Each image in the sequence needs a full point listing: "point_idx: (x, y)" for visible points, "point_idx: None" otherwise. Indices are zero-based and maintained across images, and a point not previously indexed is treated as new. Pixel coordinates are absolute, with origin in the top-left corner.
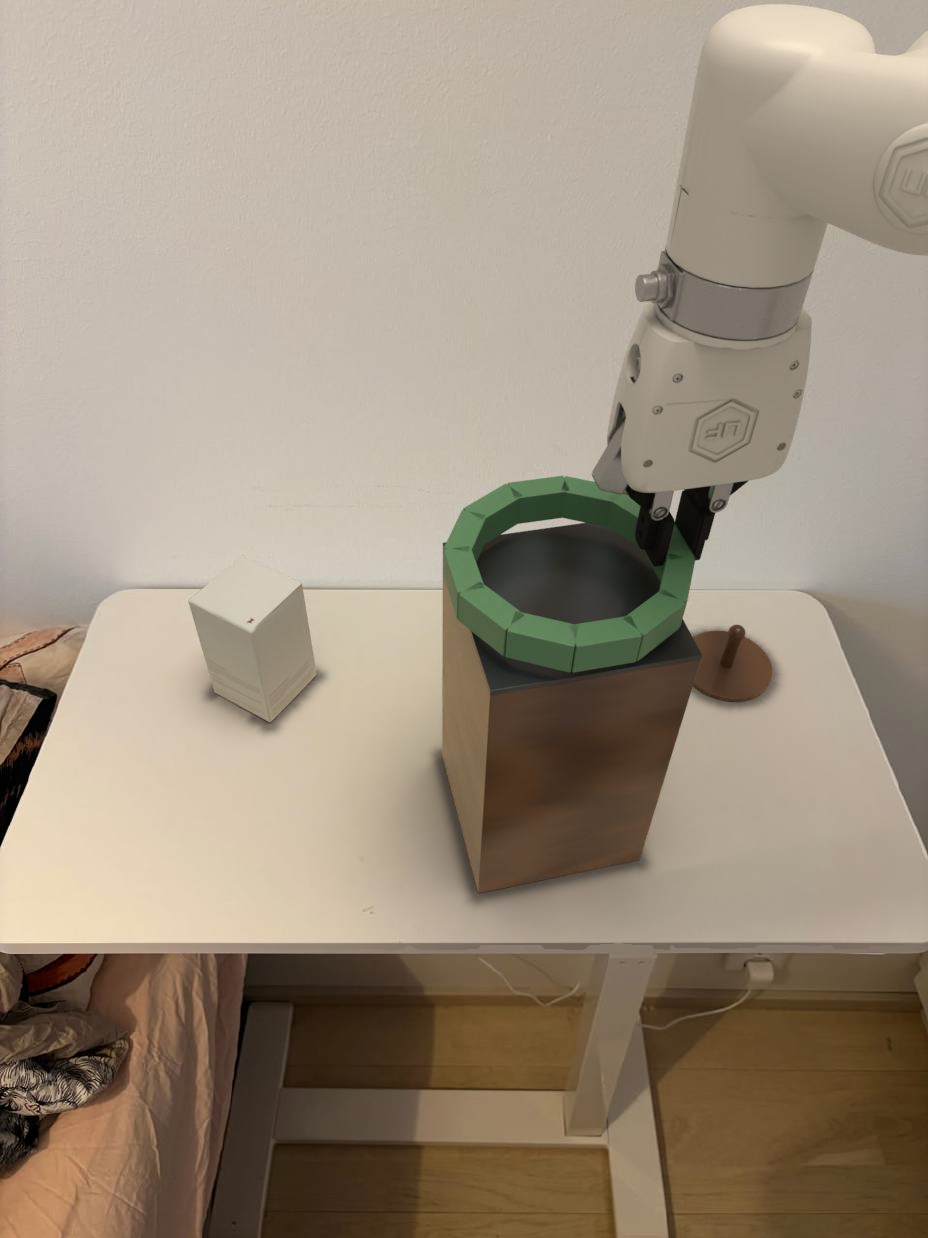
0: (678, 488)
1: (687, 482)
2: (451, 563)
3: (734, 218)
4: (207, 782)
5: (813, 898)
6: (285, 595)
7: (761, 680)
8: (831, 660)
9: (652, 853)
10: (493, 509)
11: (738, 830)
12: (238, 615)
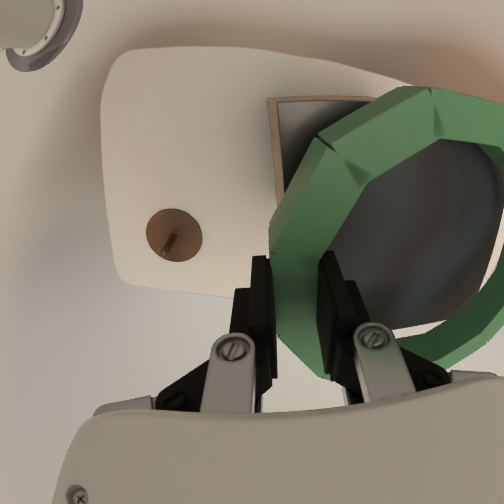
0: (424, 401)
1: (406, 424)
2: None
3: None
4: None
5: (165, 68)
6: None
7: (154, 222)
8: (112, 233)
9: (257, 102)
10: (468, 344)
11: (196, 113)
12: (483, 283)
